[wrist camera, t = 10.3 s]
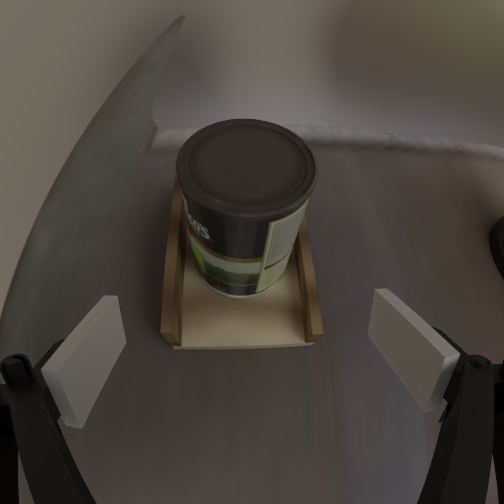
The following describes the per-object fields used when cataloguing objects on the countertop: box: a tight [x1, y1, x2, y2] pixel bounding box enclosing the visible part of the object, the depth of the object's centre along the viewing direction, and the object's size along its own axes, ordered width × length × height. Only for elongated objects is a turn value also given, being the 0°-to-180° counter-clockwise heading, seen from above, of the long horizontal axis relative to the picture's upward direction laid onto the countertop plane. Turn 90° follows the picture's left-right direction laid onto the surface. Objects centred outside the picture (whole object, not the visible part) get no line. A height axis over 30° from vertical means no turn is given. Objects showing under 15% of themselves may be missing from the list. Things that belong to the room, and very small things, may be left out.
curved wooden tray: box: [160, 171, 323, 350], centre depth 32 cm, size 20×14×6 cm
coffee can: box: [176, 119, 318, 299], centre depth 27 cm, size 10×10×14 cm
